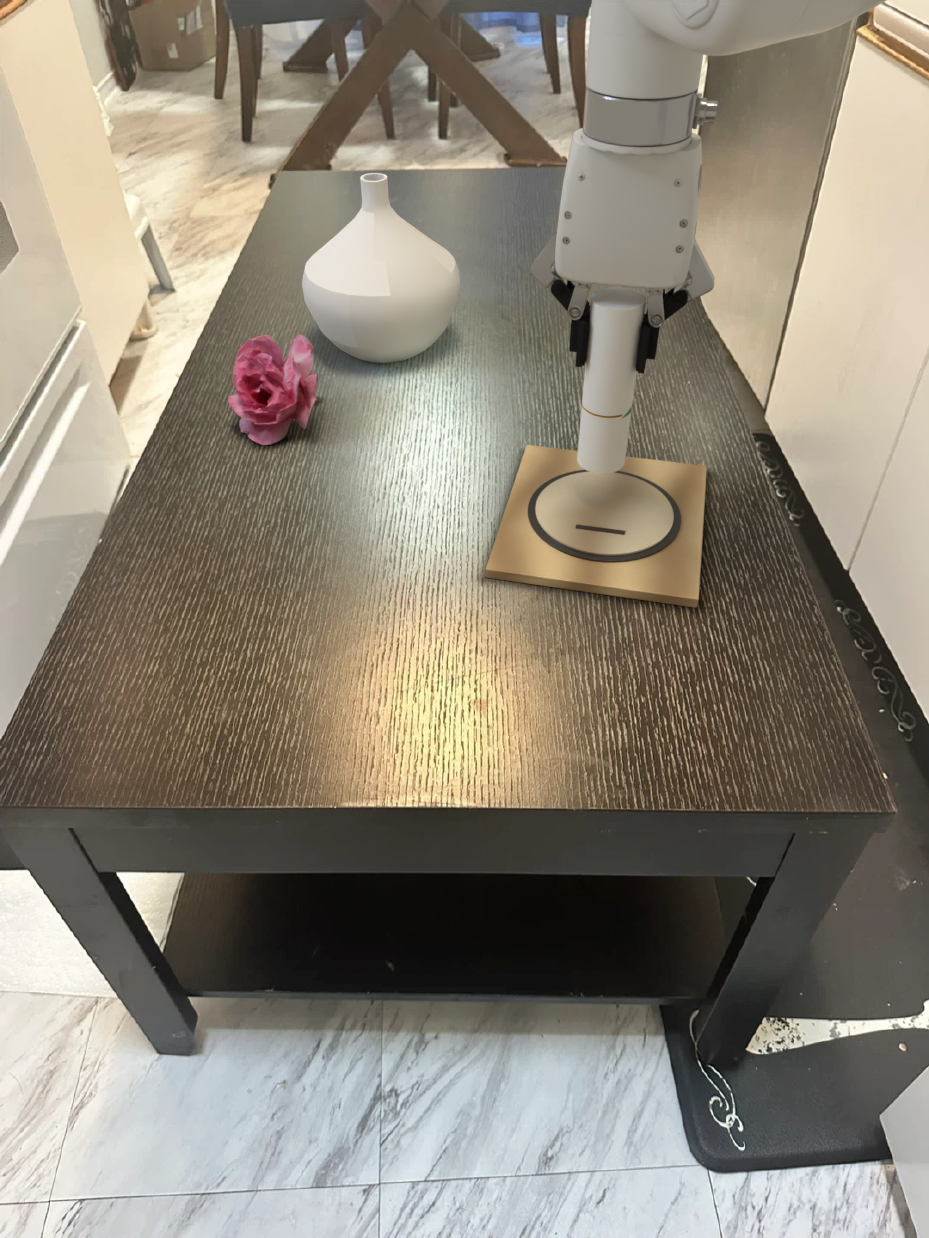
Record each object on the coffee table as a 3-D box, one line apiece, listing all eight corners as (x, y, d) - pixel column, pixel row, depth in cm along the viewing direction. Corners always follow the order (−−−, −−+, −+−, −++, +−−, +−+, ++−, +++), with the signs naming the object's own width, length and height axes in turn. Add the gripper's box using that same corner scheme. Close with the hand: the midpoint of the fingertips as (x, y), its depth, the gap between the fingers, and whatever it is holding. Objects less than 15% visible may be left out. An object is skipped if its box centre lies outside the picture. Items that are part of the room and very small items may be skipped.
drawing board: (705, 474, 88) (708, 461, 87) (696, 608, 74) (699, 595, 73) (526, 452, 91) (526, 440, 90) (485, 577, 77) (485, 564, 76)
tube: (594, 478, 78) (611, 314, 68) (568, 455, 81) (580, 293, 70) (634, 465, 79) (657, 302, 69) (607, 442, 82) (625, 283, 72)
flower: (275, 479, 93) (202, 413, 87) (272, 436, 101) (205, 373, 95) (356, 412, 91) (287, 339, 85) (347, 373, 98) (283, 304, 92)
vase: (491, 346, 108) (494, 178, 95) (371, 398, 99) (355, 221, 86) (398, 299, 118) (388, 141, 105) (281, 342, 109) (255, 176, 96)
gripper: (764, 108, 62) (716, 351, 75) (527, 97, 65) (519, 333, 77) (765, 139, 57) (713, 395, 69) (507, 125, 60) (502, 374, 72)
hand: (611, 360), depth 73 cm, fingers closed on tube, 4 cm apart
